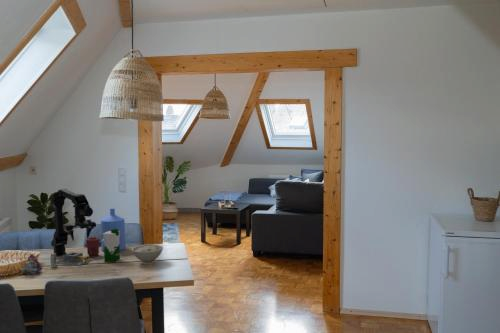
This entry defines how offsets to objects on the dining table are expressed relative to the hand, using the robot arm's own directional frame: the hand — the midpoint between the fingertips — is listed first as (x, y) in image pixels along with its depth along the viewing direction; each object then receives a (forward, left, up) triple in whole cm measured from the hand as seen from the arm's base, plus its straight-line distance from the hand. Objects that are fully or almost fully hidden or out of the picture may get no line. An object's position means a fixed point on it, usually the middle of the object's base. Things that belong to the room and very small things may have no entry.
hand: (80, 239), depth 303 cm
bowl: (+43, +6, -14) cm, 45 cm away
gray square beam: (-8, -16, -13) cm, 22 cm away
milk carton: (+19, +5, -14) cm, 24 cm away
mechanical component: (+1, +12, -14) cm, 18 cm away
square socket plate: (-3, -4, -13) cm, 14 cm away
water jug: (+5, +30, -14) cm, 33 cm away
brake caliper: (-12, -29, -14) cm, 35 cm away
